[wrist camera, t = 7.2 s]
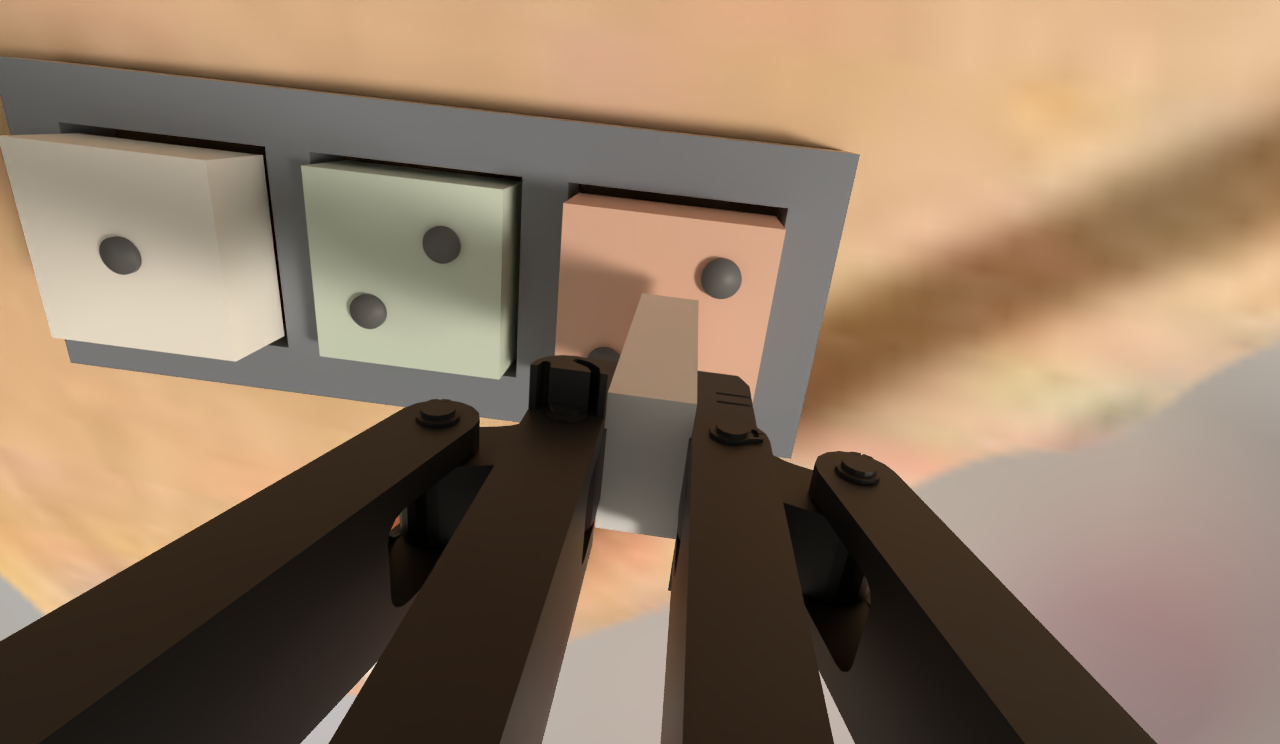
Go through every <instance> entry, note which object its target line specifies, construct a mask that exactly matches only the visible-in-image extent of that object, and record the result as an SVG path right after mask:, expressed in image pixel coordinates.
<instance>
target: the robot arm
mask: <svg viewBox="0 0 1280 744" xmlns="http://www.w3.org/2000/svg"><path fill="white" fill-rule="evenodd" d="M479 424H480V419H479V412H478V411H477V410H476V409H475V408H473V407H472V406H470V405H467V404H465V403H462V402H456V401H451V400H450V399H441V400H439V399H431V400H429V401H425V402H420V403H415V404H413V405H410V406H408V407H406V408H403V409H402V410H400V411H398V412H397V413H395V414H393V415H391V416H390V417H388V418H386V419H384V420H383V421H381V422H379V423H377V424H376V425H374V426H372V427H371V428H369V429H367V430H365V431H364V432H362V433H360V434H358V435H357V436H355V437H353V438H352V439H350V440H348V441H346V442H345V443H343V444H341V445H339V446H338V447H336V448H334V449H332V450H331V451H329V452H327V453H326V454H324V455H322V456H320V457H319V458H317V459H315V460H313V461H312V462H310V463H308V464H307V465H305V466H303V467H301V468H300V469H298V470H296V471H294V472H293V473H291V474H289V475H287V476H286V477H284V478H282V479H281V480H279V481H277V482H275V483H274V484H272V485H270V486H268V487H267V488H265V489H263V490H262V491H260V492H258V493H256V494H255V495H253V496H251V497H249V498H248V499H246V500H244V501H242V502H241V503H239V504H237V505H236V506H234V507H232V508H230V509H229V510H227V511H225V512H223V513H222V514H220V515H218V516H217V517H215V518H213V519H211V520H210V521H208V522H206V523H204V524H203V525H201V526H199V527H197V528H196V529H194V530H192V531H191V532H189V533H187V534H185V535H184V536H182V537H180V538H178V539H177V540H175V541H173V542H172V543H170V544H168V545H166V546H165V547H163V548H161V549H159V550H158V551H156V552H154V553H152V554H151V555H149V556H147V557H146V558H144V559H142V560H140V561H139V562H137V563H135V564H133V565H132V566H130V567H128V568H127V569H125V570H123V571H121V572H120V573H118V574H116V575H114V576H113V577H111V578H109V579H107V580H106V581H104V582H102V583H101V584H99V585H97V586H95V587H94V588H92V589H90V590H88V591H87V592H85V593H83V594H82V595H80V596H78V597H76V598H75V599H73V600H71V601H69V602H68V603H66V604H64V605H62V606H61V607H59V608H57V609H56V610H54V611H52V612H50V613H49V614H47V615H45V616H43V617H42V618H40V619H38V620H37V621H35V622H33V623H31V624H30V625H28V626H26V627H25V628H23V629H21V630H19V631H18V632H16V633H14V634H12V635H11V636H9V637H7V638H6V639H4V640H2V641H0V744H300V743H301V742H302V741H303V740H304V739H305V738H306V737H307V736H308V735H309V734H310V733H311V731H312V730H313V729H314V728H315V727H316V726H317V725H318V724H319V723H320V722H321V721H322V719H324V718H325V717H326V716H327V714H328V713H329V712H330V711H331V710H332V709H333V708H334V707H335V706H336V705H337V704H338V703H339V702H340V701H341V700H342V698H343V697H344V696H345V695H346V694H347V693H348V692H349V691H350V690H351V689H352V688H353V687H354V686H355V685H356V684H357V683H358V681H359V680H360V679H361V678H362V677H363V676H364V675H365V674H366V673H367V672H368V671H369V670H370V669H371V668H372V667H373V665H374V664H375V663H376V662H377V661H378V662H377V663H376V665H375V667H374V668H373V670H372V672H371V673H370V675H369V677H368V678H367V680H366V682H365V684H364V685H363V687H362V689H361V690H360V692H359V694H358V695H357V697H356V699H355V700H354V702H353V704H352V706H351V707H350V709H349V710H348V712H347V714H346V716H345V717H344V719H343V720H342V722H341V724H340V725H339V727H338V729H337V731H336V732H335V734H334V736H333V737H332V739H331V741H330V742H329V744H542V740H543V736H544V732H545V728H546V725H547V721H548V716H549V712H550V709H551V705H552V701H553V697H554V693H555V689H556V685H557V681H558V677H559V673H560V669H561V665H562V661H563V657H564V653H565V650H566V646H567V642H568V638H569V634H570V630H571V626H572V622H573V618H574V614H575V610H576V606H577V602H578V598H579V594H580V590H581V586H582V582H583V578H584V574H585V571H586V567H587V563H588V559H589V555H590V551H591V547H592V540H593V530H594V520H595V516H596V524H595V528H602V529H609V530H616V531H623V532H630V533H637V534H644V535H651V536H658V537H665V538H672V539H676V542H675V549H674V555H673V562H672V568H671V575H670V581H669V588H668V591H671V599H670V614H669V630H668V644H667V658H666V673H665V689H664V702H663V718H662V732H661V744H834V742H833V737H832V732H831V728H830V723H829V718H828V714H827V708H826V704H825V699H824V694H823V689H822V685H821V680H820V675H819V671H820V673H821V675H822V677H823V679H824V681H825V684H826V685H827V688H828V689H829V692H830V693H831V696H832V698H833V700H834V702H835V704H836V706H837V708H838V710H839V712H840V714H841V716H842V718H843V720H844V722H845V724H846V726H847V728H848V730H849V732H850V734H851V736H852V738H853V740H854V742H855V744H1157V743H1156V742H1155V741H1154V740H1153V739H1152V738H1151V737H1150V736H1149V735H1148V734H1147V733H1146V732H1145V731H1144V730H1143V728H1141V727H1140V726H1139V724H1137V722H1136V721H1135V720H1134V719H1133V718H1132V717H1131V716H1130V715H1129V714H1128V713H1127V712H1126V711H1125V710H1124V709H1123V708H1122V707H1121V706H1120V705H1119V704H1118V703H1117V702H1116V701H1115V699H1113V697H1112V696H1111V695H1110V694H1109V693H1108V692H1107V691H1106V690H1105V689H1104V688H1103V687H1102V686H1101V685H1100V684H1099V683H1098V682H1097V681H1096V680H1095V679H1094V678H1093V677H1092V676H1091V675H1090V674H1089V673H1088V672H1087V671H1086V670H1085V669H1084V667H1083V666H1082V665H1081V664H1080V663H1079V662H1078V661H1077V660H1076V659H1075V658H1074V657H1073V656H1072V655H1071V654H1070V653H1069V652H1068V651H1067V650H1066V649H1065V648H1064V647H1063V646H1062V645H1061V644H1060V643H1059V642H1058V640H1057V639H1055V637H1054V636H1053V635H1052V634H1051V633H1050V632H1049V631H1048V630H1047V629H1046V628H1045V627H1044V626H1043V625H1042V624H1041V623H1040V622H1039V621H1038V620H1037V619H1036V618H1035V617H1034V616H1033V615H1032V614H1031V613H1030V611H1028V609H1027V608H1026V607H1025V606H1023V604H1022V603H1021V602H1020V601H1019V600H1018V599H1017V598H1016V597H1015V596H1014V595H1013V594H1012V593H1011V592H1010V591H1009V590H1008V589H1007V588H1006V587H1005V586H1004V585H1003V584H1002V583H1001V582H1000V580H999V579H998V578H997V577H996V576H995V575H994V574H993V573H992V572H991V571H990V570H989V569H988V568H987V567H986V566H985V565H984V564H983V563H982V562H981V561H980V560H979V559H978V558H977V557H976V556H975V555H974V553H973V552H971V551H970V549H969V548H968V547H967V546H966V545H965V544H964V543H963V542H962V541H961V540H960V539H959V538H958V537H957V536H956V535H955V534H954V533H953V532H952V531H951V530H950V529H949V528H948V527H947V526H946V524H945V523H944V522H943V521H942V520H941V519H940V518H939V517H938V516H937V515H936V514H935V513H934V512H933V511H932V510H931V509H930V508H929V507H928V506H927V505H926V504H925V503H924V502H923V501H922V500H921V499H920V498H919V497H918V495H917V494H916V493H915V492H914V491H913V490H912V489H911V488H910V487H909V486H908V485H907V484H906V483H905V482H904V481H903V480H902V479H901V478H900V477H899V476H898V475H897V474H896V473H895V472H894V471H893V470H891V469H890V468H889V467H887V466H886V465H885V464H883V463H881V462H879V461H877V460H874V459H873V458H872V457H870V456H867V455H864V454H863V455H861V453H857V452H842V451H837V452H827V453H825V454H822V455H820V456H818V458H817V460H816V462H815V466H814V470H810V469H807V468H804V467H800V466H797V465H794V464H792V463H789V462H786V461H784V460H782V459H780V458H778V457H776V456H774V455H773V452H772V448H771V443H770V440H769V438H768V437H767V435H766V433H764V432H763V431H761V430H760V429H759V428H757V425H756V419H755V414H754V409H753V403H752V399H751V392H750V387H749V385H747V384H746V383H745V382H744V381H743V380H742V379H741V378H740V377H739V376H735V375H727V374H720V373H712V372H704V371H698V300H691V299H683V298H675V297H667V296H659V295H652V294H644V293H642V295H641V298H640V301H639V303H638V306H637V309H636V312H635V315H634V318H633V321H632V324H631V327H630V329H629V332H628V335H627V338H626V341H625V344H624V347H623V350H622V353H621V356H620V358H619V361H618V362H615V361H607V360H600V359H592V358H584V357H579V356H569V355H556V356H547V357H544V358H540V359H537V360H535V361H534V362H533V363H531V364H530V381H529V405H528V410H527V412H526V413H525V415H524V417H523V418H522V420H521V422H520V423H519V424H517V425H512V426H501V427H479ZM398 515H400V523H399V524H398V525H397V526H396V527H394V528H393V529H392V530H391V528H392V526H393V524H394V521H395V519H396V518H397V517H398ZM390 530H391V531H390ZM818 669H819V670H818Z"/></svg>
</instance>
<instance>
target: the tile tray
mask: <svg viewBox="0 0 1280 744" xmlns="http://www.w3.org/2000/svg"><path fill="white" fill-rule="evenodd" d="M0 95H1V99H2V103H3V107H4V111H5V114H6V118H7V122H8V126H9V130H10V133H11V135H33V134H68V133H81V134H90V135H98V136H106V137H115V138H117V136H116V131H115V129H121V130H130V131H138V132H147V133H155V134H164V135H172V136H181V137H189V138H197V139H206V140H214V141H223V142H231V143H240V144H248V145H257V146H265V152H266V160H267V169H268V177H269V186H270V194H271V203H272V211H273V220H274V228H275V237H276V245H277V253H278V262H279V270H280V279H281V287H282V296H283V304H284V313H285V321H286V325H283V327H284V336H283V337H281V338H279V339H278V340H276V341H274V342H272V343H270V344H268V345H266V346H264V347H263V348H261V349H259V350H257V351H255V352H253V353H251V354H250V355H248V356H246V357H244V358H242V359H240V360H238V361H236V362H235V361H227V360H219V359H212V358H204V357H197V356H189V355H181V354H174V353H166V352H159V351H151V350H143V349H136V348H128V347H121V346H113V345H105V344H98V343H90V342H83V341H75V340H67V339H65V342H66V346H67V350H68V354H69V357H70V361H71V363H77V364H85V365H92V366H100V367H107V368H115V369H122V370H130V371H137V372H145V373H152V374H160V375H167V376H175V377H182V378H190V379H197V380H205V381H212V382H220V383H228V384H235V385H243V386H250V387H258V388H265V389H273V390H280V391H288V392H295V393H303V394H310V395H318V396H325V397H333V398H340V399H348V400H355V401H363V402H370V403H378V404H385V405H393V406H400V407H408V406H410V405H413V404H415V403H420V402H425V401H429V400H431V399H439V400H441V399H450V400H451V401H456V402H462V403H465V404H467V405H470V406H472V407H473V408H475V409H476V410H477V411H478V412H479V417H483V418H491V419H498V420H506V421H513V422H521V420H522V418H523V417H524V415H525V413H526V412H527V410H528V405H529V381H530V364H531V363H533V362H534V361H535V360H537V359H540V358H544V357H547V356H555V343H556V325H557V308H558V290H559V272H560V254H561V236H562V218H563V203H564V202H566V201H567V200H569V199H570V198H572V197H574V196H575V195H577V194H578V193H579V184H587V185H595V186H604V187H612V188H620V189H629V190H637V191H646V192H654V193H663V194H671V195H680V196H688V197H697V198H705V199H714V200H722V201H730V202H739V203H747V204H756V205H764V206H773V207H779V209H778V214H777V219H778V220H779V221H780V223H781V224H782V225H783V227H784V228H785V229H786V233H785V238H784V243H783V248H782V253H781V259H780V264H779V269H778V274H777V279H776V285H775V290H774V295H773V300H772V305H771V311H770V316H769V321H768V326H767V331H766V337H765V342H764V347H763V352H762V357H761V363H760V368H759V373H758V378H757V384H756V389H755V394H754V399H753V409H754V414H755V419H756V425H757V428H759V429H760V430H761V431H763V432H764V433H766V435H767V437H768V438H769V440H770V443H771V448H772V452H773V455H774V456H776V457H784V458H791V456H792V451H793V447H794V443H795V438H796V434H797V429H798V425H799V420H800V416H801V412H802V407H803V403H804V398H805V394H806V390H807V385H808V381H809V376H810V372H811V368H812V363H813V359H814V354H815V350H816V345H817V341H818V337H819V332H820V328H821V323H822V319H823V315H824V310H825V306H826V301H827V297H828V293H829V288H830V284H831V279H832V275H833V270H834V266H835V262H836V257H837V253H838V248H839V244H840V240H841V235H842V231H843V226H844V222H845V217H846V213H847V209H848V204H849V200H850V195H851V191H852V187H853V182H854V178H855V173H856V169H857V165H858V160H859V156H860V155H859V154H855V153H851V152H847V151H840V150H832V149H823V148H814V147H805V146H797V145H788V144H779V143H770V142H762V141H753V140H744V139H735V138H727V137H718V136H709V135H700V134H692V133H683V132H674V131H665V130H657V129H648V128H639V127H631V126H622V125H613V124H604V123H596V122H587V121H578V120H569V119H561V118H552V117H543V116H534V115H526V114H517V113H508V112H499V111H491V110H482V109H473V108H464V107H456V106H447V105H438V104H430V103H421V102H412V101H403V100H395V99H386V98H377V97H368V96H360V95H351V94H342V93H333V92H325V91H316V90H307V89H298V88H290V87H281V86H272V85H263V84H255V83H246V82H237V81H228V80H220V79H211V78H202V77H194V76H185V75H176V74H167V73H159V72H150V71H141V70H132V69H124V68H115V67H106V66H97V65H89V64H80V63H71V62H62V61H54V60H42V59H31V58H19V57H7V56H0ZM344 156H350V157H358V158H367V159H375V160H384V161H392V162H401V163H409V164H417V165H426V166H434V167H443V168H451V169H460V170H468V171H477V172H485V173H494V174H502V175H510V176H519V177H522V209H521V241H520V273H519V305H518V337H517V357H516V358H515V359H514V361H513V362H512V363H511V365H510V366H509V367H508V369H507V370H506V371H505V373H504V374H503V375H502V377H501V378H500V379H499V380H498V379H491V378H483V377H475V376H468V375H460V374H452V373H445V372H437V371H429V370H422V369H414V368H406V367H399V366H391V365H383V364H376V363H368V362H360V361H353V360H345V359H337V358H330V357H322V356H320V353H319V343H318V333H317V323H316V313H315V303H314V293H313V282H312V272H311V262H310V252H309V242H308V232H307V222H306V211H305V201H304V191H303V181H302V171H301V165H309V164H317V163H325V162H333V161H341V160H344Z"/></svg>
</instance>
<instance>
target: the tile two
mask: <svg viewBox="0 0 1280 744" xmlns="http://www.w3.org/2000/svg"><path fill="white" fill-rule="evenodd" d="M301 171H302V181H303V191H304V201H305V211H306V222H307V232H308V242H309V252H310V262H311V272H312V282H313V293H314V303H315V313H316V323H317V333H318V343H319V353H320V356H322V357H330V358H337V359H345V360H353V361H360V362H368V363H376V364H383V365H391V366H399V367H406V368H414V369H422V370H429V371H437V372H445V373H452V374H460V375H468V376H475V377H483V378H491V379H498V380H499V379H500V378H501V377H502V375H503V374H504V373H505V371H506V370H507V369H508V367H509V366H510V365H511V363H512V362H513V361H514V359H515V358H516V357H517V337H518V305H519V273H520V241H521V209H522V181H519V180H510V179H502V178H493V177H485V176H477V175H468V174H460V173H451V172H443V171H434V170H426V169H417V168H409V167H401V166H392V165H384V164H375V163H367V162H358V161H350V160H341V161H333V162H325V163H317V164H309V165H301Z"/></svg>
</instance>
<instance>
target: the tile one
mask: <svg viewBox="0 0 1280 744" xmlns="http://www.w3.org/2000/svg"><path fill="white" fill-rule="evenodd" d="M0 147H1V151H2V155H3V158H4V162H5V166H6V169H7V173H8V177H9V180H10V184H11V188H12V191H13V195H14V199H15V202H16V206H17V210H18V214H19V217H20V221H21V225H22V228H23V232H24V236H25V239H26V243H27V247H28V250H29V254H30V258H31V261H32V265H33V269H34V273H35V276H36V280H37V284H38V287H39V291H40V295H41V298H42V302H43V306H44V309H45V313H46V317H47V320H48V324H49V328H50V332H51V335H52V338H60V339H67V340H75V341H83V342H90V343H98V344H105V345H113V346H121V347H128V348H136V349H143V350H151V351H159V352H166V353H174V354H181V355H189V356H197V357H204V358H212V359H219V360H227V361H235V362H236V361H238V360H240V359H242V358H244V357H246V356H248V355H250V354H251V353H253V352H255V351H257V350H259V349H261V348H263V347H264V346H266V345H268V344H270V343H272V342H274V341H276V340H278V339H279V338H281V337H283V336H284V327H283V319H282V311H281V302H280V294H279V286H278V277H277V269H276V261H275V252H274V244H273V236H272V227H271V219H270V211H269V202H268V194H267V186H266V177H265V169H264V161H263V155H258V154H250V153H241V152H233V151H224V150H216V149H208V148H199V147H191V146H182V145H174V144H165V143H157V142H149V141H140V140H132V139H123V138H115V137H106V136H98V135H90V134H81V133H68V134H33V135H0Z"/></svg>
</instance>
